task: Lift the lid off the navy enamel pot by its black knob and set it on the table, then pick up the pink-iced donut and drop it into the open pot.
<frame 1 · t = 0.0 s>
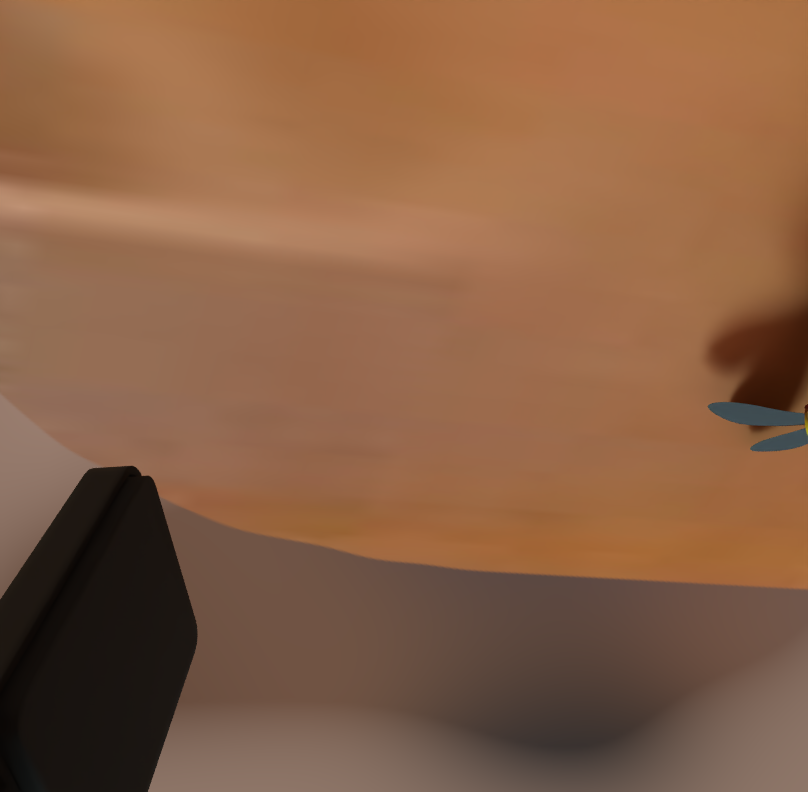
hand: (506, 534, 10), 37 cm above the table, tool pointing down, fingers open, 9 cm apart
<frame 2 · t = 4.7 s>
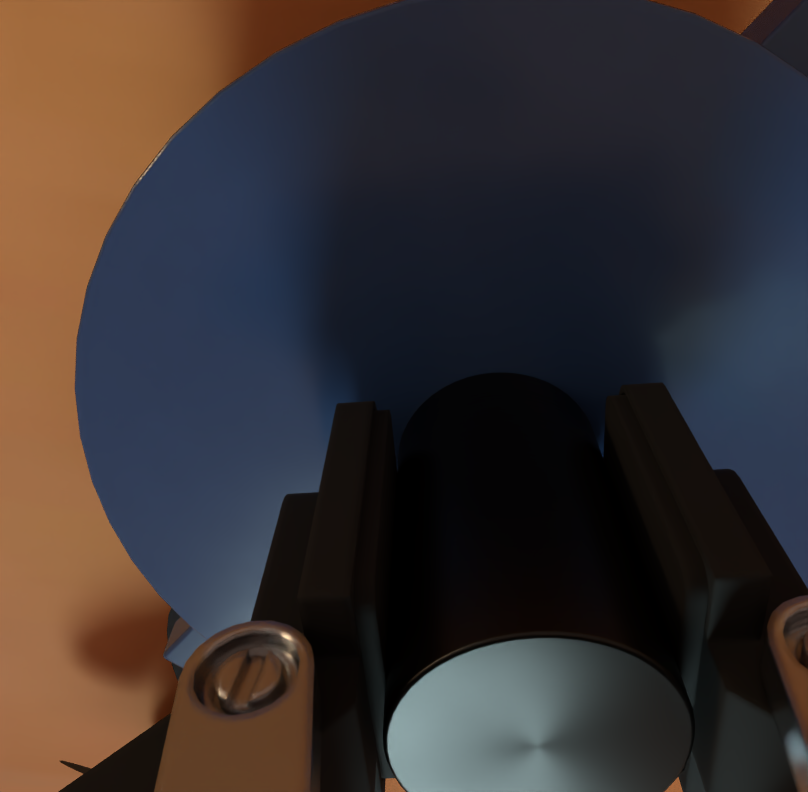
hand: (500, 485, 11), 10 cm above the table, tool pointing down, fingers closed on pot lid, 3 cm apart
pot lid: (493, 440, 12), point 9 cm above the table, touching gripper, pot
toy: (326, 713, 28), on the table
pot: (468, 261, 20), on the table
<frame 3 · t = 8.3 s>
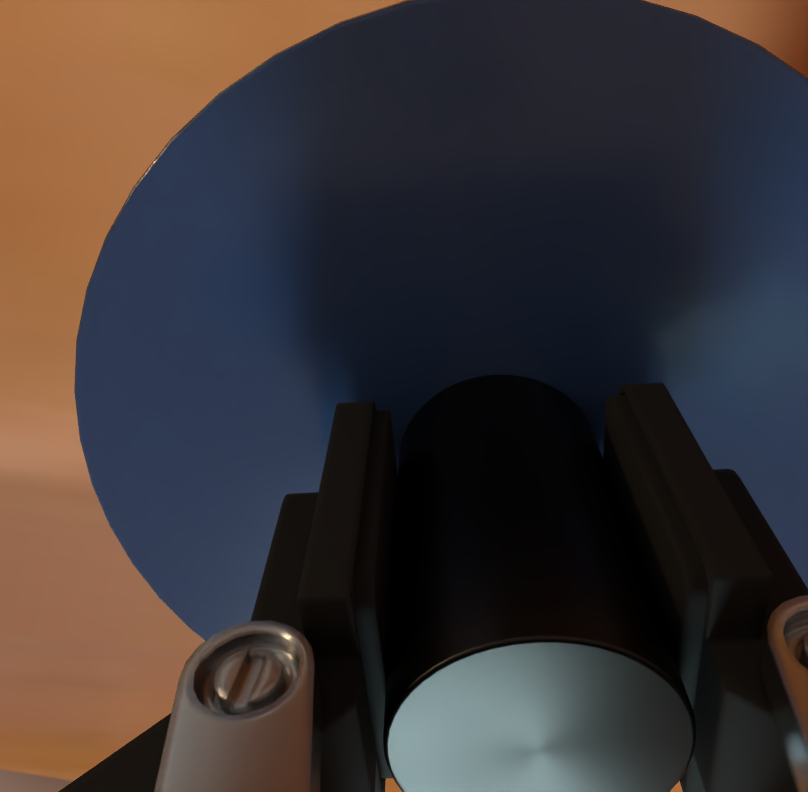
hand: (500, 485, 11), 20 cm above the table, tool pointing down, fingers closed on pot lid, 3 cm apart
pot lid: (494, 442, 12), point 19 cm above the table, touching gripper
when the fingers open (2 cm above the table, at t = 11.8 s): pot lid stays where it is, point 1 cm above the table.
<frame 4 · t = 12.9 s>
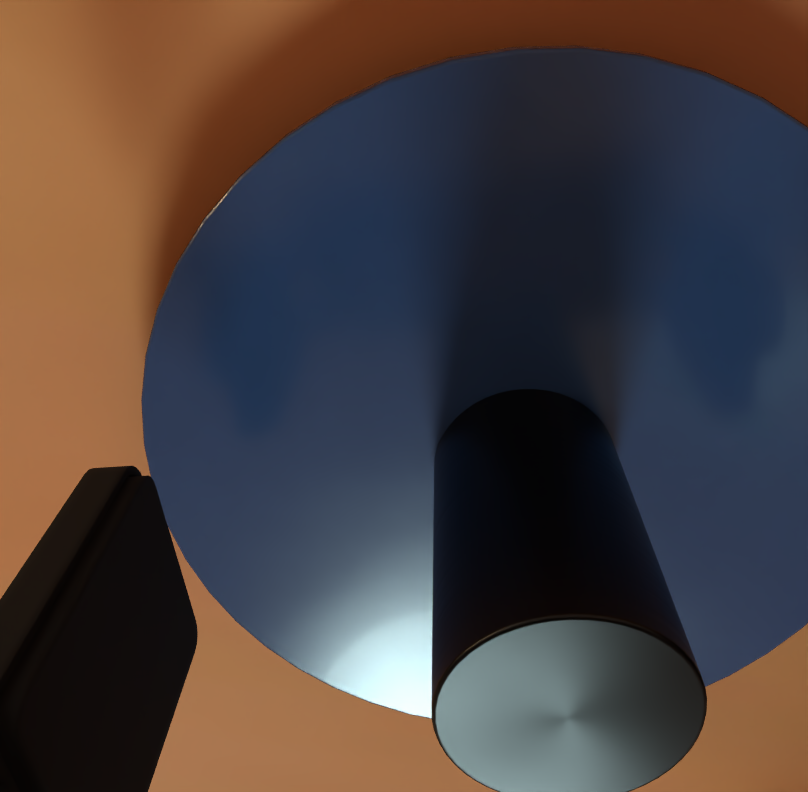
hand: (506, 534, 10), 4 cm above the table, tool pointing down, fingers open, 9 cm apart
pot lid: (521, 451, 13), point 1 cm above the table
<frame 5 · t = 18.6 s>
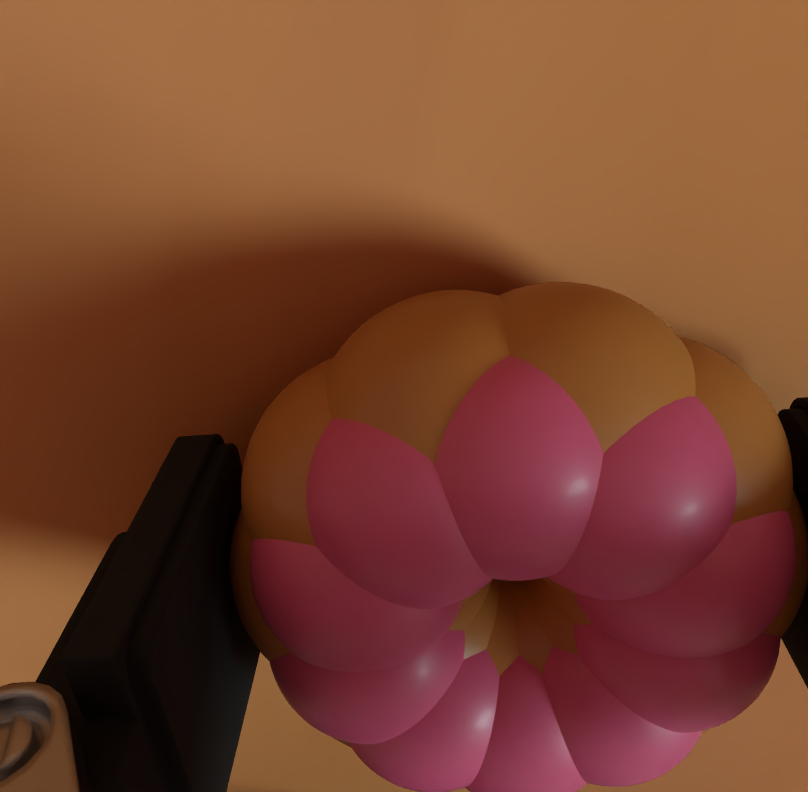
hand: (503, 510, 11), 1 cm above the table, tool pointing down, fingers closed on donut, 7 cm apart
donut: (498, 475, 11), on the table, touching gripper
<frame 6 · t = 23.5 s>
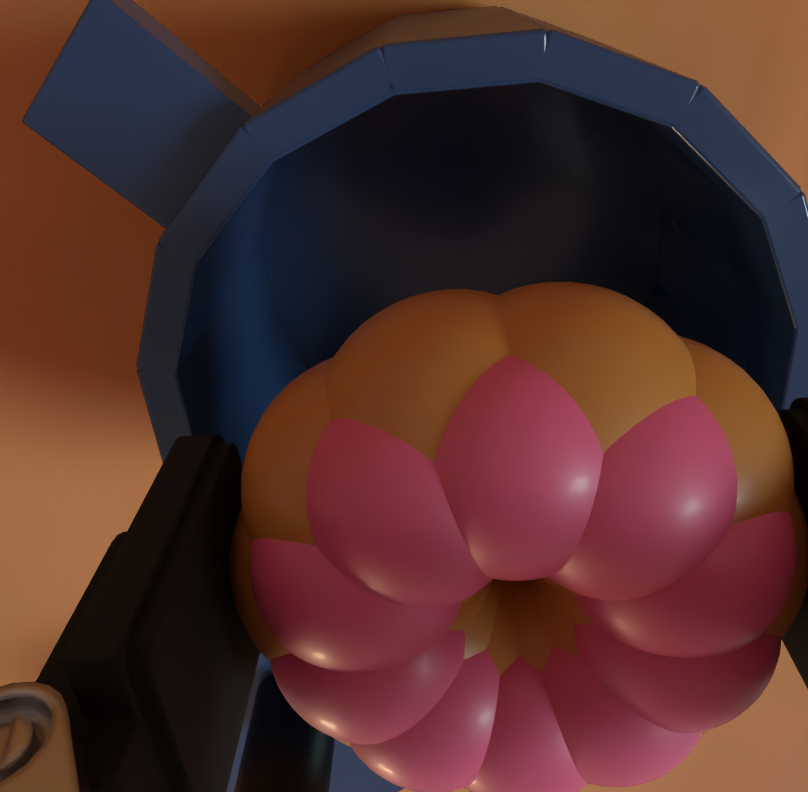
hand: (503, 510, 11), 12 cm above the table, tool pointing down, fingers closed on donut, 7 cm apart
donut: (499, 474, 11), point 11 cm above the table, touching gripper
pot lid: (299, 687, 28), point 1 cm above the table
pot: (460, 251, 21), on the table
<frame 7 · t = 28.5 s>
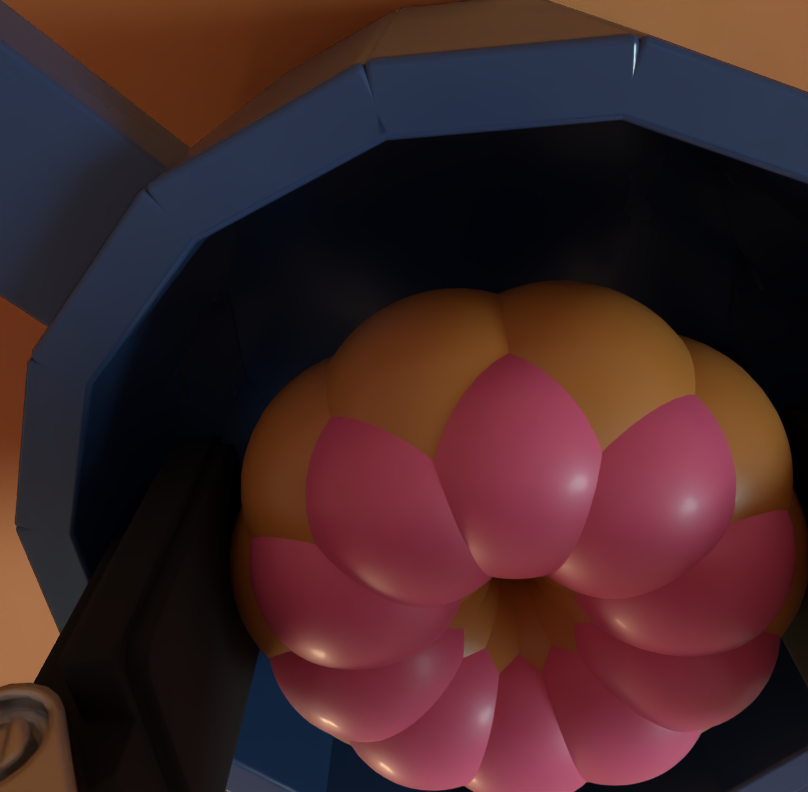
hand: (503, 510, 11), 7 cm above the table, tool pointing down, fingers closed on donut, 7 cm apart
donut: (499, 473, 11), point 6 cm above the table, touching gripper
pot: (477, 305, 17), on the table
when the fingers open (7 cm above the table, at t = 28.6 s): donut drops 5 cm, resting on pot.
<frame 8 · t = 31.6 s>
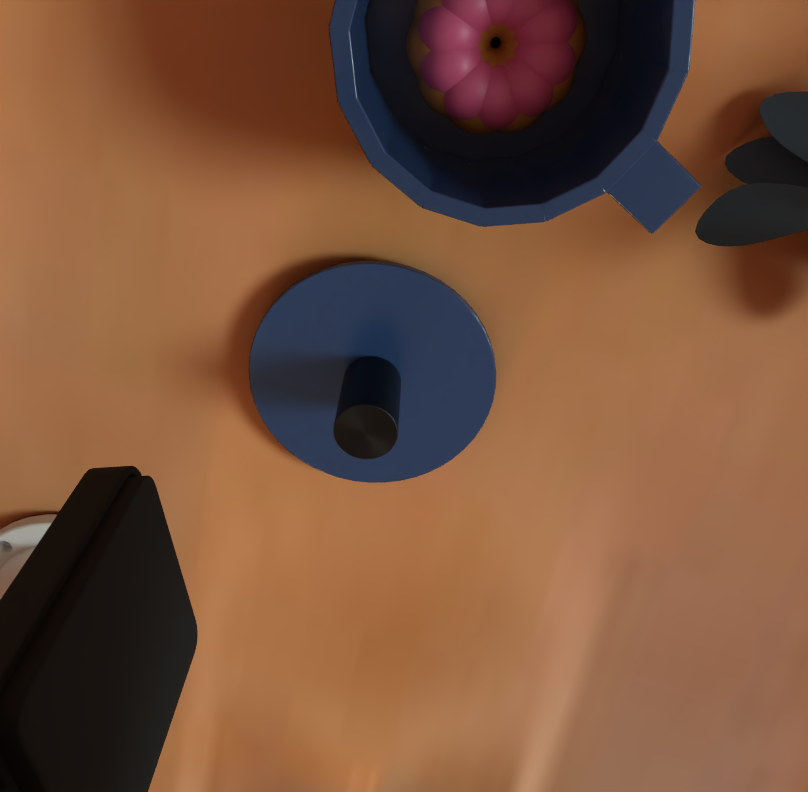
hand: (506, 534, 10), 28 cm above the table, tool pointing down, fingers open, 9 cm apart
donut: (492, 39, 33), resting on pot
pot lid: (372, 377, 40), point 1 cm above the table
pot: (491, 30, 33), on the table
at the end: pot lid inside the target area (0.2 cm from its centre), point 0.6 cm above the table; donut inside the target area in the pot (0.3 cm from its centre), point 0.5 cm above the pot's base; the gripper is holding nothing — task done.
